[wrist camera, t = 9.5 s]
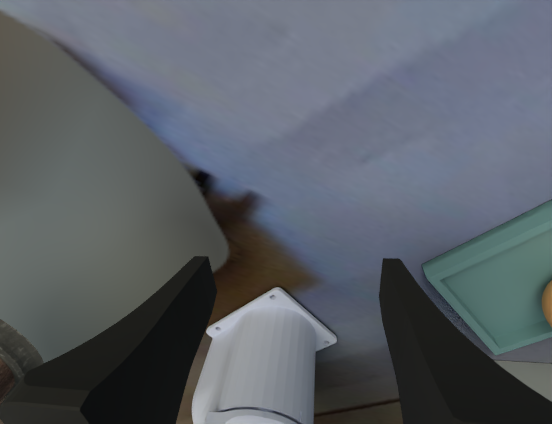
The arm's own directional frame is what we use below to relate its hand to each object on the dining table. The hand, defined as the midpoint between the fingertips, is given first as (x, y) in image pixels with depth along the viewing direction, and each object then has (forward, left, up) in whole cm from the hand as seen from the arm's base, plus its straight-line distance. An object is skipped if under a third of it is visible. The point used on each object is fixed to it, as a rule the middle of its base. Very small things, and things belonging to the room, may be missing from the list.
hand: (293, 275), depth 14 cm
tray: (+7, -16, -9) cm, 20 cm away
